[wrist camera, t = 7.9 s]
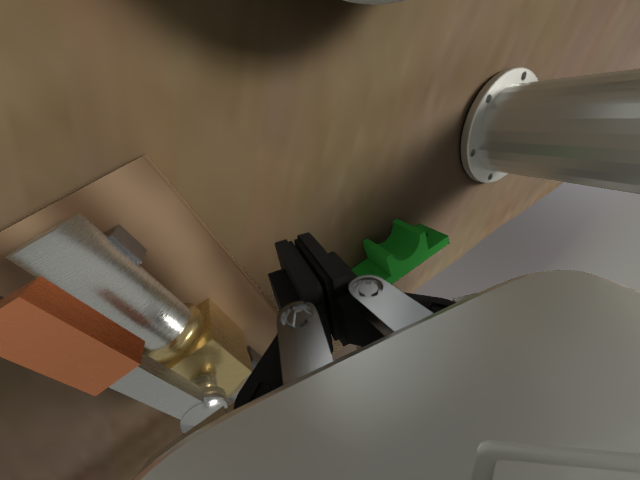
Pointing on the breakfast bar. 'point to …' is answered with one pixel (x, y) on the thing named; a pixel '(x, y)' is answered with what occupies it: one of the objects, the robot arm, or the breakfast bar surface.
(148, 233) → the valve stand
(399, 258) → the pipe clamp
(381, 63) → the breakfast bar surface
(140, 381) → the valve lever
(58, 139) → the breakfast bar surface
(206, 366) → the valve and pipe
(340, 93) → the breakfast bar surface
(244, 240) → the breakfast bar surface
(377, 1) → the serving bowl
